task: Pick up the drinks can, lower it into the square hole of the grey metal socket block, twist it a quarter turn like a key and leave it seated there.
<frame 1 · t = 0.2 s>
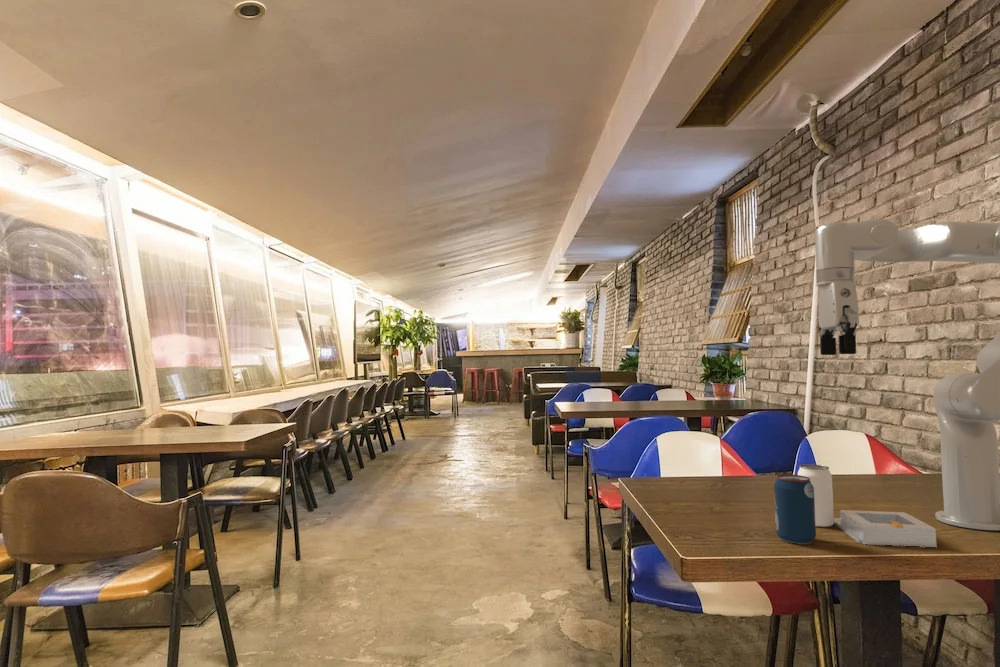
hand: (837, 354, 128), 36 cm above the table, tool pointing down, fingers open, 9 cm apart
can: (816, 524, 122), on the table
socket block: (885, 536, 112), on the table
soda can: (795, 541, 111), on the table
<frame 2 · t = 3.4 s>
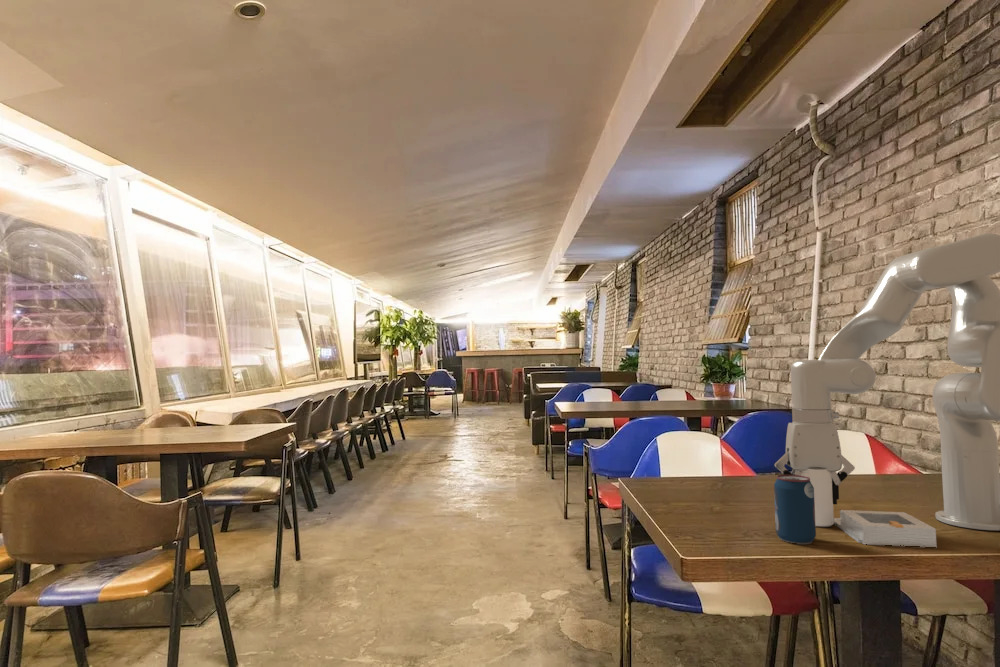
hand: (815, 501, 123), 5 cm above the table, tool pointing down, fingers closed on can, 6 cm apart
can: (816, 524, 122), on the table, touching gripper
everything else where it was.
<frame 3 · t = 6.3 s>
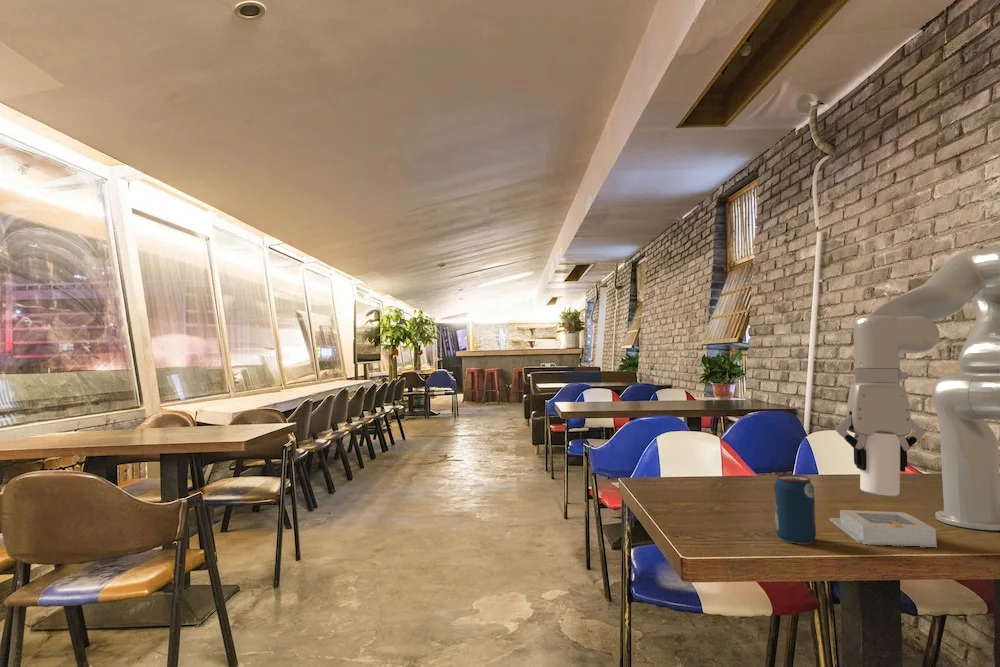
hand: (880, 468, 113), 13 cm above the table, tool pointing down, fingers closed on can, 6 cm apart
can: (879, 494, 113), point 8 cm above the table, touching gripper
everything else where it was.
when the fingers open (5 cm above the table, at t = 9.6 s): can stays where it is, resting on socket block.
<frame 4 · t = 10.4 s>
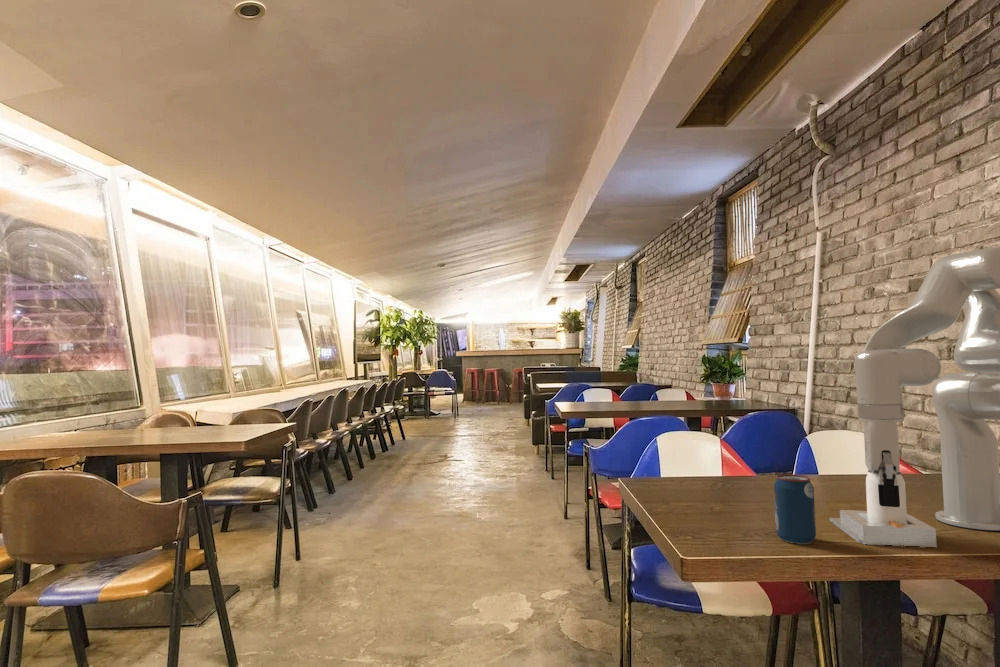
hand: (886, 500, 113), 7 cm above the table, tool pointing down, fingers open, 9 cm apart
can: (887, 534, 112), resting on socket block
everything else where it was.
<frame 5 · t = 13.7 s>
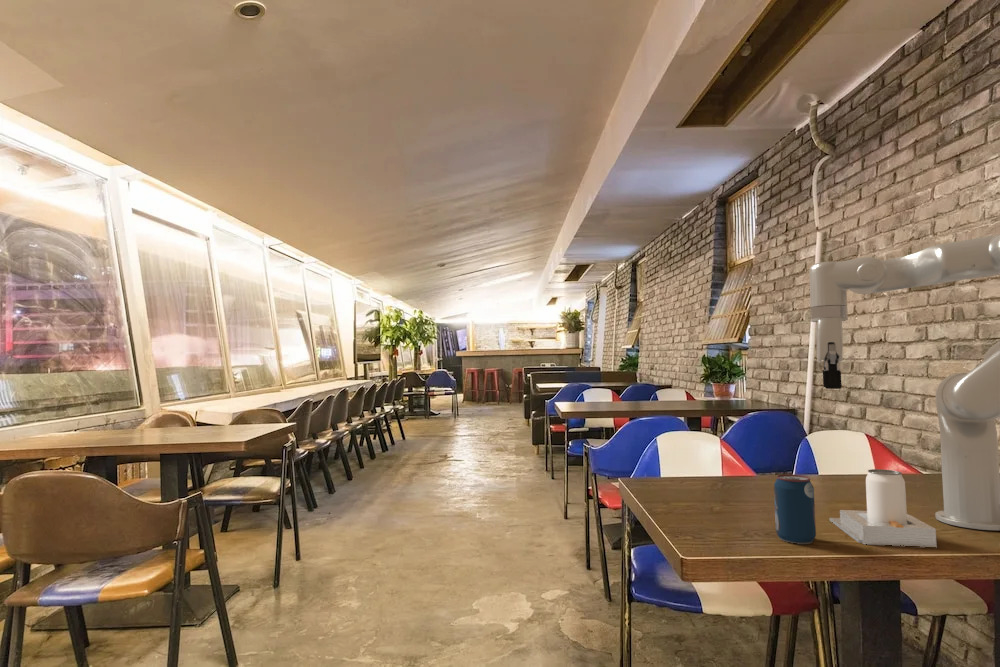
hand: (832, 387, 134), 28 cm above the table, tool pointing down, fingers open, 9 cm apart
nothing on the table moved.
at the end: can 0.4 cm off-centre on the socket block, point 0.4 cm above the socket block's base; can tilted 0°; the gripper is holding nothing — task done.
